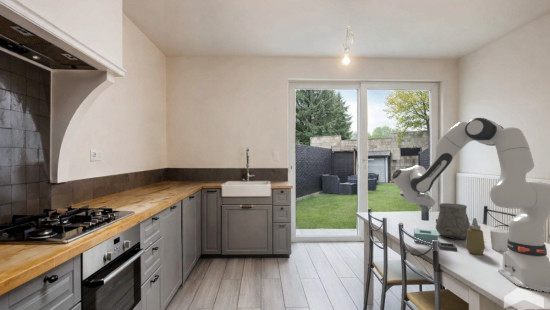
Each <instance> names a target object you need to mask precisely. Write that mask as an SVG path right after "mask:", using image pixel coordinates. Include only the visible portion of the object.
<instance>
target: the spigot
mask: <svg viewBox="0 0 550 310" xmlns="http://www.w3.org/2000/svg"><path fill="white" fill-rule="evenodd" d="M426 207H427V206H425V205H421V207H420V209H421V210H420V211H421V212H420V214H421V215H420V217H421V220H422V221H427V222H428V221H430V211H429V210H430V209H427V208H426Z"/></svg>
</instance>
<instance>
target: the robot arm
mask: <svg viewBox="0 0 550 310" xmlns="http://www.w3.org/2000/svg"><path fill="white" fill-rule="evenodd" d="M473 141H475V142H477V143H480V144H483V145H486V146H491V147H492V146H495V151H496V154H497V158H498V162H499V167H500V173H499V174H500V176H499V178H498V180H497V182H496V183H495V184H494V185H493V186H492V187H491V189H490V192H489V197H490V200H491V202H492V203H493V204H494V205H495V206H496V207H500V208H503V209H511V210H516V209H517V210H518V209H519V212H518V213H517V214H516V215H515V216H514V217H512V218H510V220H509V222H508V232H509V239H508V242H507V247H508V250H507V251H506V252H504V251H503V253H502V254H503V255H502V268H499V269H498V270H497V272H498V273H499V274H500V275H502V276H503V277H504V278H506V279H507V280H508V281H510V282H511V283H513V284H514V283H515V284H516V285H515V284H514V285H515V286H517V285H518V286H517V287H519V286H523V287H528V288H531V289H534V290H533V291H536V290H537V292H542V291H544V292H543V293H549V292H550V259H549V257H548V256H547V255H548V252H547V251H548V250H547V247H546V244H545V229H546V228H545V227H546V223H547V220H548V218H549V216H550V183H546V182H537V181H535V182H528V181H527V180H526V179H527V178H526V176H527V174H528V173H530V172H532V171H533V169H534V167H535V161H534V158H533V156H532V151H531V149H530V145H529V143H528V140H527V138H526V136H525V135H524V133H523V131H522V130H521V129H519V128H518V127H505V128H504V127H503V125H500V124H498V123H497V122H495V121H493V120H490V119H487V118H484V117H475V118H472V119H470V120H468V121H459V122H457V123H456V124H455V125H453V126H452V127H450V128H449V129H448V130H447V131H446V132H445V133H444V134H443V135H442V136H440V138H439V139H438V141H437V142H436V145H435V158H434V160H433V162H432V164H431V165H429V167H428V168H427V169H426V167H424V166H423V165H418V164H416V165H413V166H411V167H408V168H403V169H402V168H398V169H396V170H395V171H394V172H393V174H392V175H391V178H392V181H393V183H394V185H395V186H396V187H397V188H398V189H399V190H401V191H400V192H399V193H398V194H399V196H400V197H402V198H403V199H404V200H405V201H406V202H408V203H411V204H416V205H417V206H419V207H420V208H421V205H425V206H427V207H426V208H427V209H429V210H431V209H432V207H433V208H434V206H435V205H436V200H435V199H434V198H433V197H432V196H431V195H430V194H428V193H427V192H429V191H430V190H432V187H433V184H434V182H435V181H437V179H438V178H439V176H441V174H442V173H443V172H444V171H446V169H447V168H448V166H449V165H450V164H451V163H452V161H453V160H454V159H455V157H456V155H458V153H459V152H460V151H462V150H463V148H464V147H465V146H467V145H468V144H469V143H470V142H473ZM531 289H530V290H531Z"/></svg>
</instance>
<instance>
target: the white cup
mask: <svg viewBox="0 0 550 310" xmlns="http://www.w3.org/2000/svg"><path fill="white" fill-rule="evenodd" d="M489 234H490V235H489V236H490V244H491V249H492V250H494V251H498V252H503V253H504V252H506V251H507V250H508V247H507V242H508V239H509V230H506V229H505V230H504V229H498V228H490V230H489Z"/></svg>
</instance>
